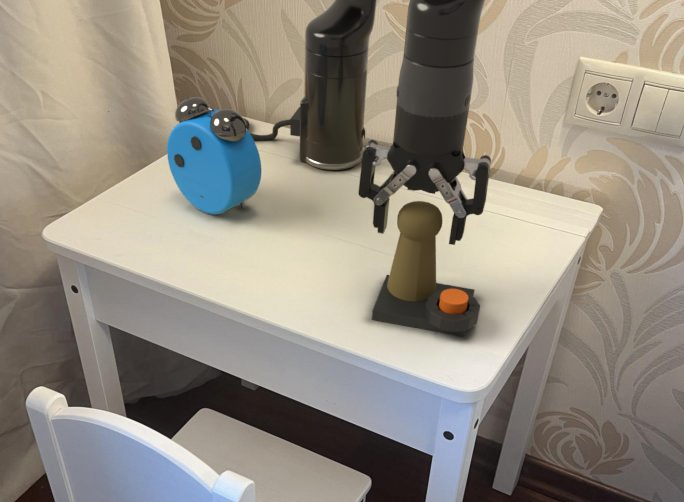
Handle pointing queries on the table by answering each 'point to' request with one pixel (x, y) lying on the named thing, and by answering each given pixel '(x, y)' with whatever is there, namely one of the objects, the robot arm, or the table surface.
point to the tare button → (453, 301)
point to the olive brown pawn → (415, 252)
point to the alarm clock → (213, 157)
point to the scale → (426, 311)
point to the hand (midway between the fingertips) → (416, 235)
